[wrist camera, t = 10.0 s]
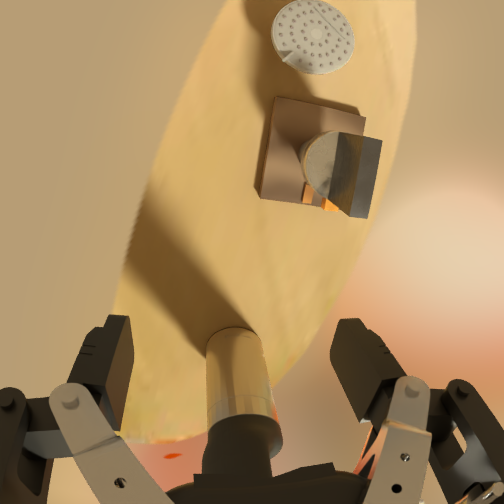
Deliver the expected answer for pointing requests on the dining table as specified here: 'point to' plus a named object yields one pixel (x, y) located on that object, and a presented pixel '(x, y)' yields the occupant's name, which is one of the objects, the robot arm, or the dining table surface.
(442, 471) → the robot arm
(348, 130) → the post base
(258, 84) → the dining table surface
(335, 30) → the showerhead
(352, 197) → the knob
